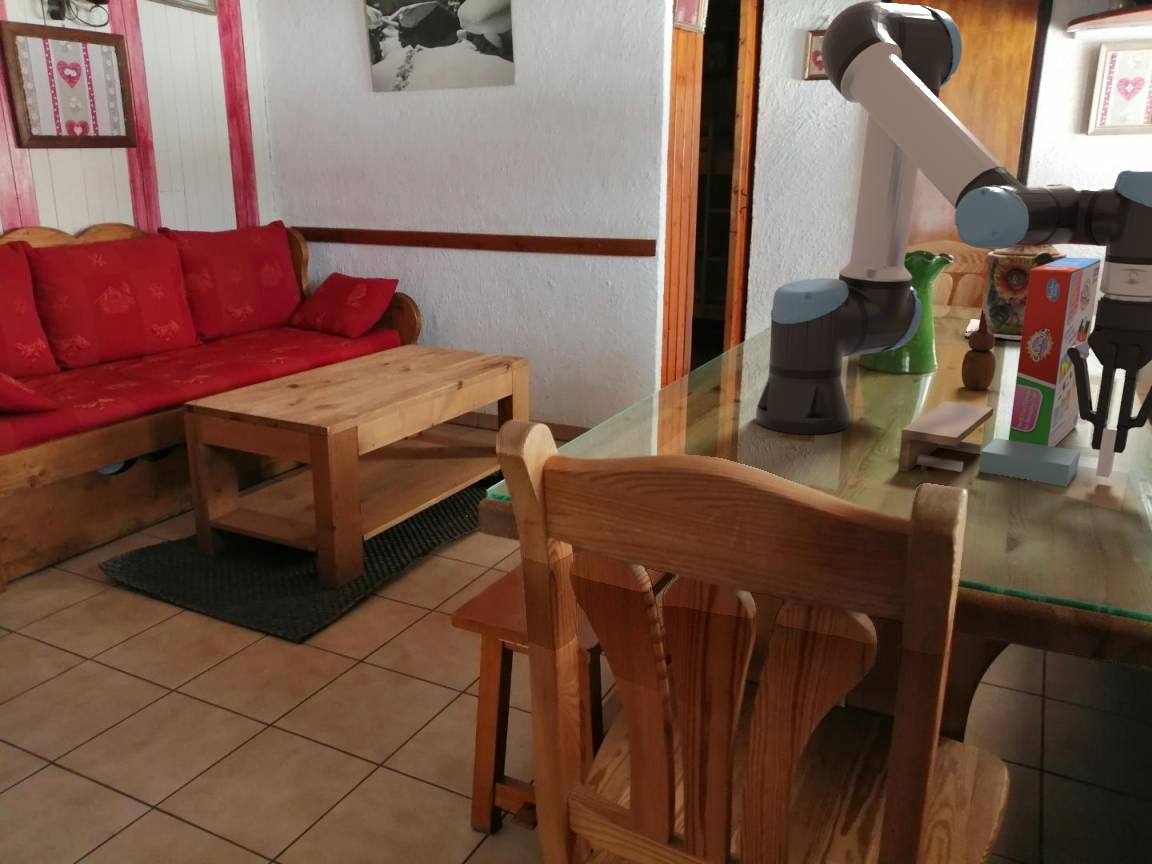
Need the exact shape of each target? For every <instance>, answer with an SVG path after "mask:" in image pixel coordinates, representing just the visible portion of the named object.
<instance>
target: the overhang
mask: <svg viewBox="0 0 1152 864" xmlns="http://www.w3.org/2000/svg"><path fill="white" fill-rule="evenodd" d="M993 414H994V407H991V406H986V405H985V406H983V405H976V404H969V403H962V402H961V403H960V402H955V401H954V402H953V401H947V400H943V401H942V402H940V403H939V404H938V405H936V406H935V407H933V408H931V409H930V410H928V411H927V412H926V413H924V414H922V415H921V416H920V417H919V418H917V419H916V420H914V421H913V422H911V423H909V424H908V425H907V426H905V427H904V428H902V430H901V439H900V440H901V441H900V451H899V460H898V471H900V472H904V473H905V472H906V473H907V472H909V471H911V469H913V468H914V467H915V466H916V465H919V466H924V467H925V466H926V467H932V468H937V469H942V470H946V471H947V470H948V471H954V472H959V473H961V472H962V471H963V469H964V461H960V460H955V459H948V458H945V457H944V458H943V457H937V456H931V455H930V454H932V452H934V451H936V449H938V448H939V449H945V450H954V451H958V452H963V453H969V454H970V453H971V454H975V455H976V454H977V455H981V451H982V450H983V445H982V444H979V443H972V442H968V441H967V442H966V441H964V440H965V439H966V438H967V437H969V436H970V435H971V434H972V433H974V432H975V431H976V430H977V429H978V428H980V427H981V426H982V425H983V424H984V423H985V422H987V421H988V420H989V419H990V418H991V417H992V416H993Z"/></svg>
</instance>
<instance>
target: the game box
mask: <svg viewBox="0 0 1152 864" xmlns="http://www.w3.org/2000/svg"><path fill="white" fill-rule="evenodd" d="M1101 260H1102V259H1100V258H1093V257H1092V258H1091V257H1090V258H1088V257H1066V258H1062V259H1059V260H1056V261H1054V262H1050V263H1048V264H1045V265H1042V266H1039V267H1036V268H1033V269H1031V270H1030V275H1029V283H1028V291H1027V299H1026V308H1025V315H1024V323H1023V331H1022V339H1021V340H1020V348H1019V356H1018V365H1017V370H1016V380H1015V386H1014V387H1015V388H1014V394H1013V403H1012V411H1011V412H1012V413H1011V419H1010V426H1009V427H1010V428H1009V432H1008V433H1009V434H1008V440H1012V441H1019V442H1025V443H1032V444H1039V445H1045V446H1052V447H1057V445H1058V444H1059V443H1060V442H1061V441H1063V439H1064V438H1065V437H1066V436H1068V434H1069V433H1070V432H1071V431H1072V430H1073V429H1074V428H1075V427H1076V426H1077V425H1078V422H1079V416H1080V413H1079V405H1078V396H1077V388H1076V380H1075V372H1074V365H1073V363H1072V361H1071V360H1070V358H1069V356H1068V354H1067V350H1068V349H1069V348H1070V347H1071V346H1073V345H1078V344H1081V343H1083V342H1085V341H1087V339H1088V336H1089V335H1090V334H1091V333H1092V331H1091V329H1092V324H1093V318H1094V311H1095V303H1096V296H1097V287H1098V282H1099V275H1100V269H1101V262H1102V261H1101ZM1087 359H1088V357H1087V358H1086V360H1087ZM1087 361H1088V360H1087Z"/></svg>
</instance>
